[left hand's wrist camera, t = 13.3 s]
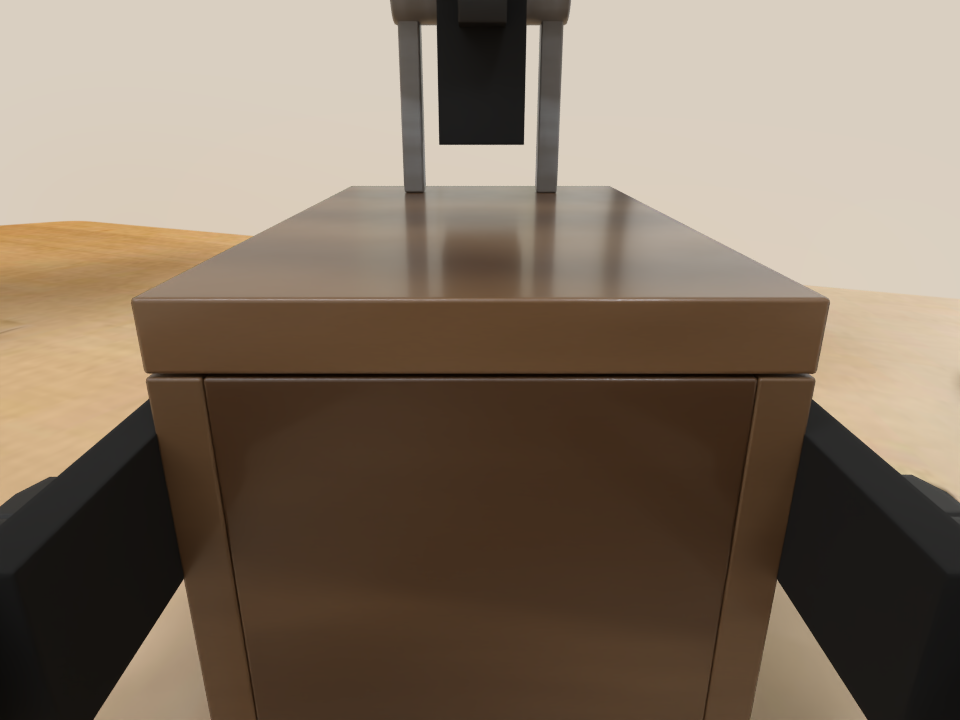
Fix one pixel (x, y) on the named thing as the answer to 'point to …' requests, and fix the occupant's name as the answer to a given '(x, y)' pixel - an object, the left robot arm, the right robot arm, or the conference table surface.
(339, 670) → the chest
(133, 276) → the conference table surface
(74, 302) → the conference table surface
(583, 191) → the lid
